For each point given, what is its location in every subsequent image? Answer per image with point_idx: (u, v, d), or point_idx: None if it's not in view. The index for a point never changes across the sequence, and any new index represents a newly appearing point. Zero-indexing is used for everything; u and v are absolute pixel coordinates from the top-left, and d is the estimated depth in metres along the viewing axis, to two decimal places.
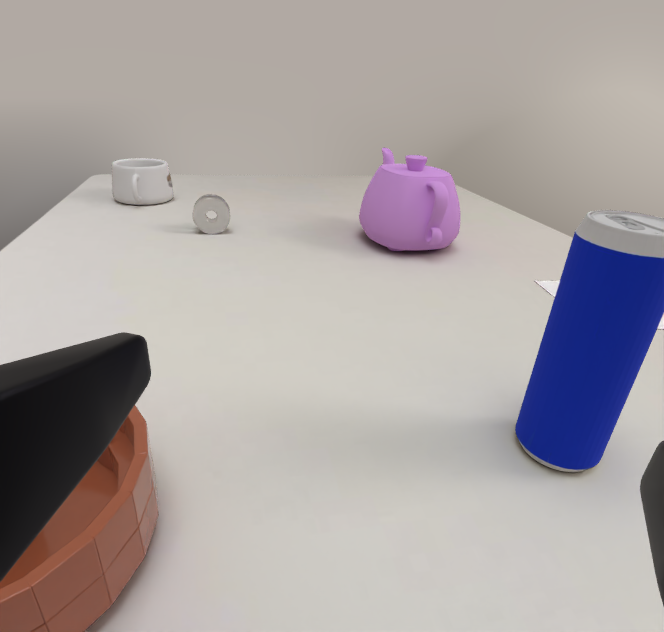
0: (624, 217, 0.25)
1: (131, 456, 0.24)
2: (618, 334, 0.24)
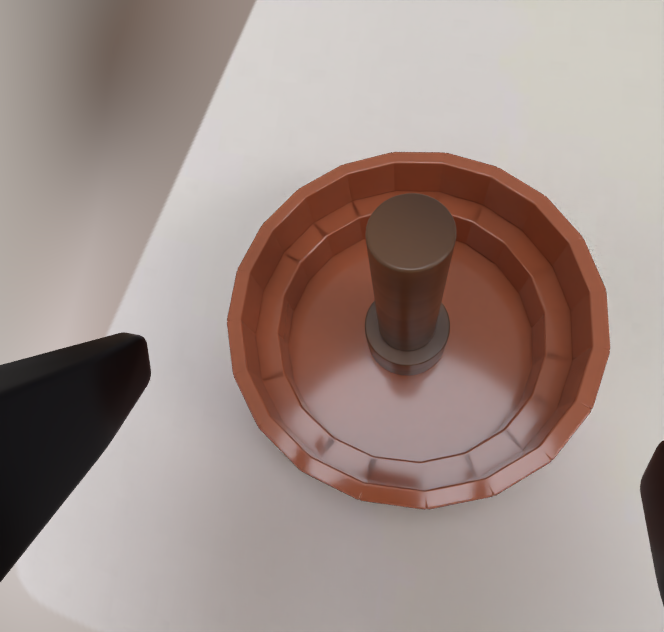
0: None
1: (560, 305, 0.19)
2: None
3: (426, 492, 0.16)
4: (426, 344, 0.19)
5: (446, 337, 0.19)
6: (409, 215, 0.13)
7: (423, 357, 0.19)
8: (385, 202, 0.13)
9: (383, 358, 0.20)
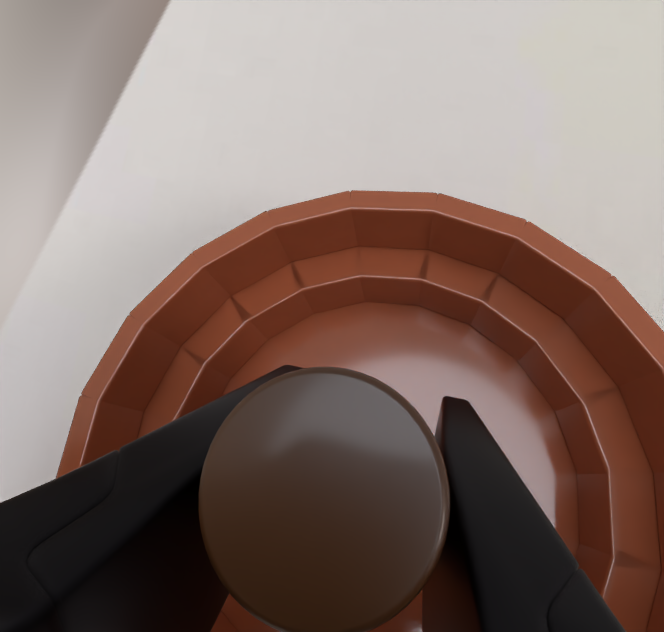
0: None
1: (634, 462, 0.11)
2: None
3: None
4: None
5: None
6: (318, 439, 0.04)
7: None
8: (258, 393, 0.05)
9: None
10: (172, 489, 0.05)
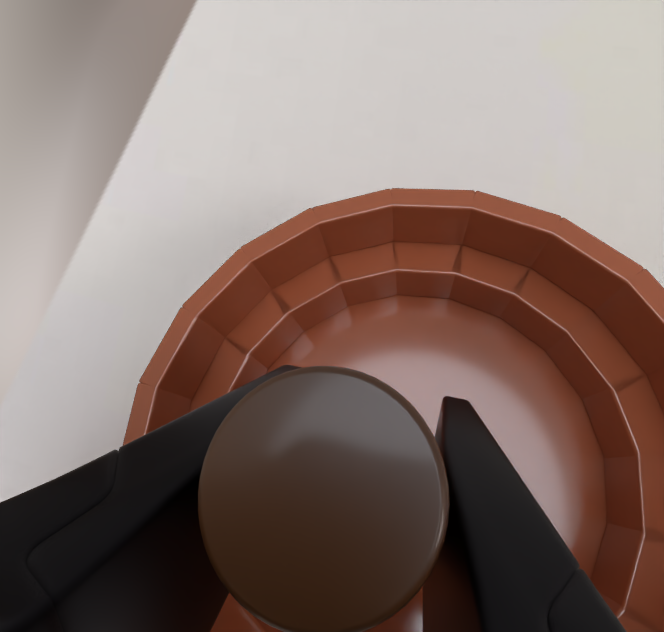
0: None
1: (662, 444, 0.12)
2: None
3: None
4: None
5: None
6: (318, 438, 0.04)
7: None
8: (257, 392, 0.05)
9: None
10: (172, 489, 0.05)
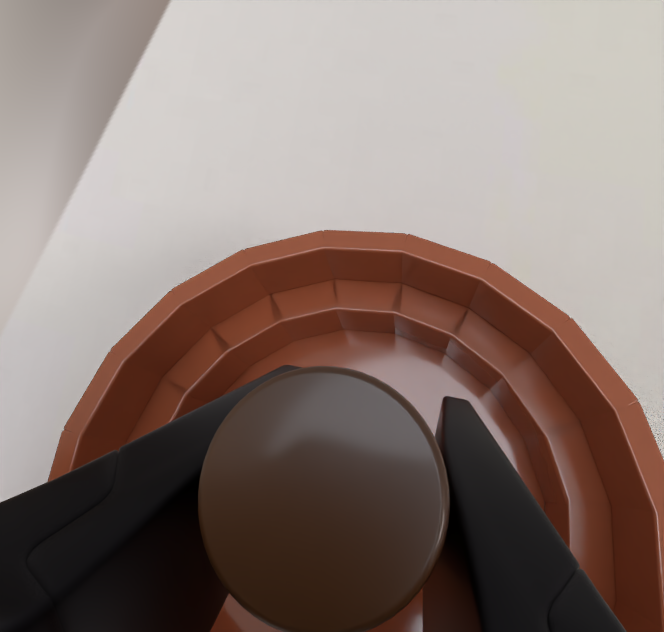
0: None
1: (593, 494, 0.12)
2: None
3: None
4: None
5: None
6: (318, 439, 0.04)
7: None
8: (258, 392, 0.05)
9: None
10: (172, 489, 0.05)
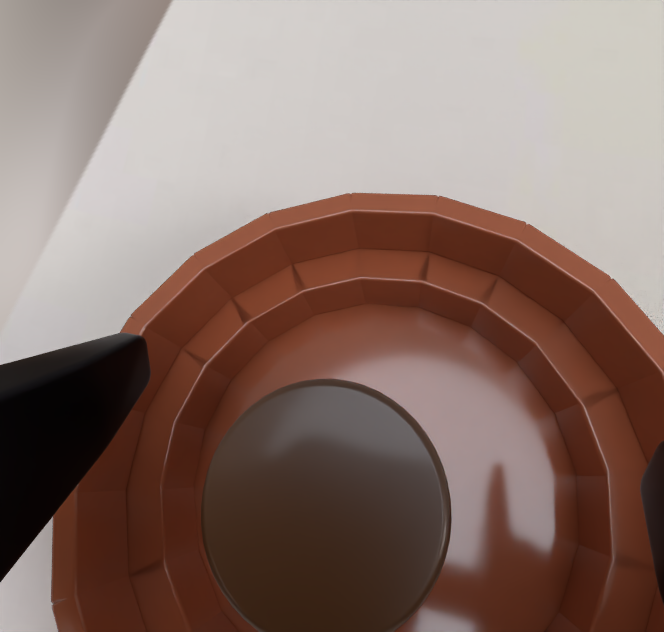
0: None
1: (633, 463, 0.11)
2: None
3: None
4: None
5: None
6: (320, 452, 0.04)
7: None
8: (260, 405, 0.05)
9: None
10: None
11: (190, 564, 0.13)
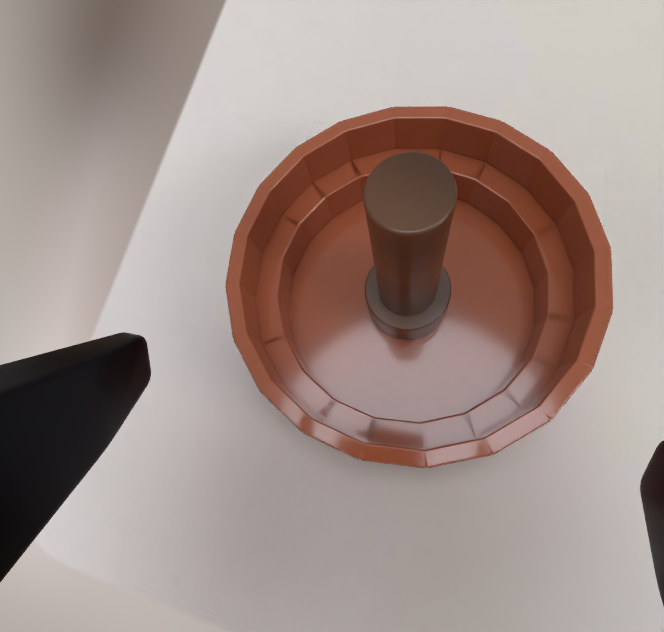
0: None
1: (563, 265, 0.19)
2: None
3: (426, 451, 0.16)
4: (427, 308, 0.19)
5: (447, 301, 0.19)
6: (408, 175, 0.12)
7: (424, 321, 0.19)
8: (383, 161, 0.12)
9: (383, 322, 0.19)
10: None
11: (294, 346, 0.21)
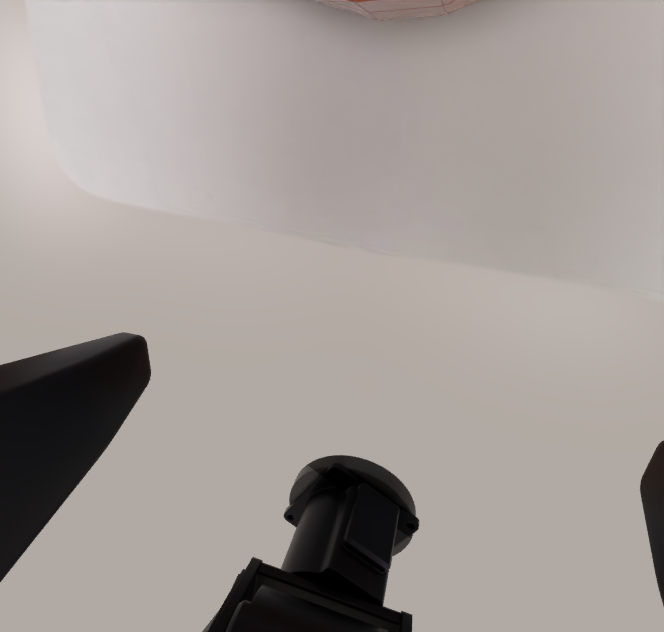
0: None
1: None
2: None
3: None
4: None
5: None
6: None
7: None
8: None
9: None
10: None
11: None
